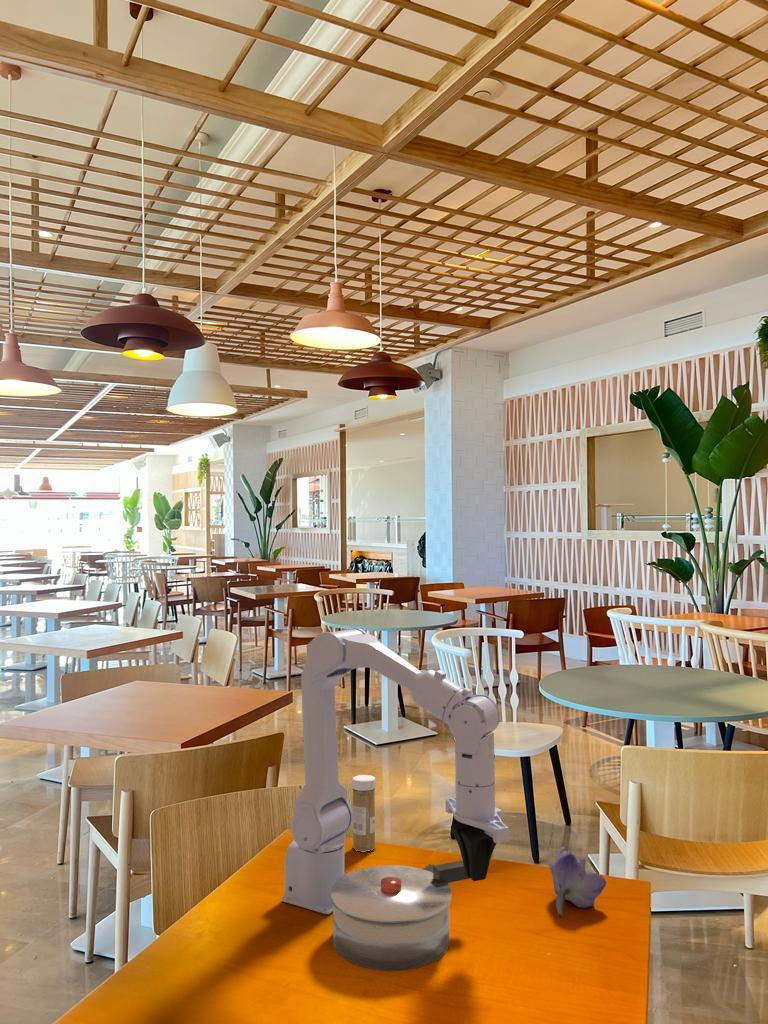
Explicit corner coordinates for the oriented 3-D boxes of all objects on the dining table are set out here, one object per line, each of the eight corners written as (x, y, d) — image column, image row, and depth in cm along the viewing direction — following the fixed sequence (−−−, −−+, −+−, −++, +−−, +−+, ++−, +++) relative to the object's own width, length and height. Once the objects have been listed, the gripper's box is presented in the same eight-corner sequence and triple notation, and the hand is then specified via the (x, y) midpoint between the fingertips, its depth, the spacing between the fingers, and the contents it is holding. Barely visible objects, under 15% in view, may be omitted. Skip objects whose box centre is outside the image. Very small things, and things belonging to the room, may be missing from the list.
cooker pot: (414, 984, 97) (414, 936, 98) (309, 949, 106) (309, 905, 107) (484, 912, 117) (484, 873, 117) (391, 888, 126) (391, 852, 126)
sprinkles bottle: (380, 849, 143) (380, 778, 144) (359, 855, 140) (359, 782, 141) (367, 842, 147) (367, 772, 148) (347, 847, 144) (347, 776, 145)
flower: (582, 885, 112) (585, 834, 121) (532, 896, 116) (539, 847, 125) (613, 929, 114) (614, 876, 122) (562, 939, 117) (567, 887, 126)
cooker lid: (358, 934, 98) (357, 914, 98) (314, 882, 114) (314, 864, 114) (502, 902, 107) (502, 884, 107) (443, 858, 123) (443, 842, 123)
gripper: (526, 791, 104) (528, 892, 103) (473, 766, 117) (474, 854, 116) (483, 798, 101) (484, 902, 100) (433, 771, 114) (433, 862, 113)
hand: (476, 877), depth 108 cm, fingers closed
